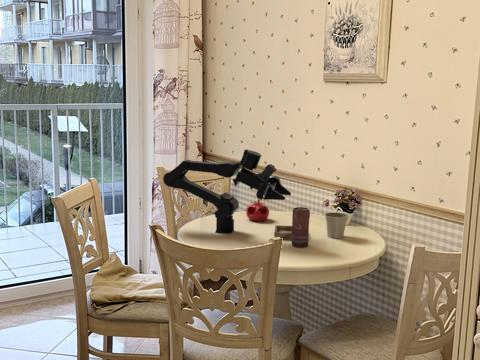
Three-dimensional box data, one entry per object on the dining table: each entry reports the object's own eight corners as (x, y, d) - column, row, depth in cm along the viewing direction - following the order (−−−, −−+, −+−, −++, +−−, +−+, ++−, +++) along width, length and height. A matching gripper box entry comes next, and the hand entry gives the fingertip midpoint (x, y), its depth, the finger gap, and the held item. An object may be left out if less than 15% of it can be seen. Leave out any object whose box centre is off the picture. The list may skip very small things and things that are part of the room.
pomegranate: (247, 217, 252) (247, 196, 251) (270, 218, 251) (270, 197, 249) (244, 222, 242) (244, 200, 241) (268, 222, 241) (268, 201, 240)
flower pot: (332, 231, 229) (333, 211, 227) (352, 236, 222) (353, 215, 221) (318, 235, 222) (319, 214, 221) (338, 241, 216) (339, 218, 214)
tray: (274, 239, 217) (274, 232, 216) (275, 231, 228) (275, 225, 228) (304, 240, 216) (304, 234, 215) (304, 232, 227) (304, 226, 227)
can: (308, 248, 205) (309, 210, 203) (290, 247, 206) (291, 209, 204) (309, 243, 211) (310, 207, 209) (292, 242, 212) (293, 206, 210)
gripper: (252, 164, 209) (290, 181, 205) (265, 157, 226) (301, 173, 223) (241, 190, 212) (278, 208, 208) (255, 182, 229) (290, 199, 226)
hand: (288, 196), depth 216 cm, fingers open, 9 cm apart
